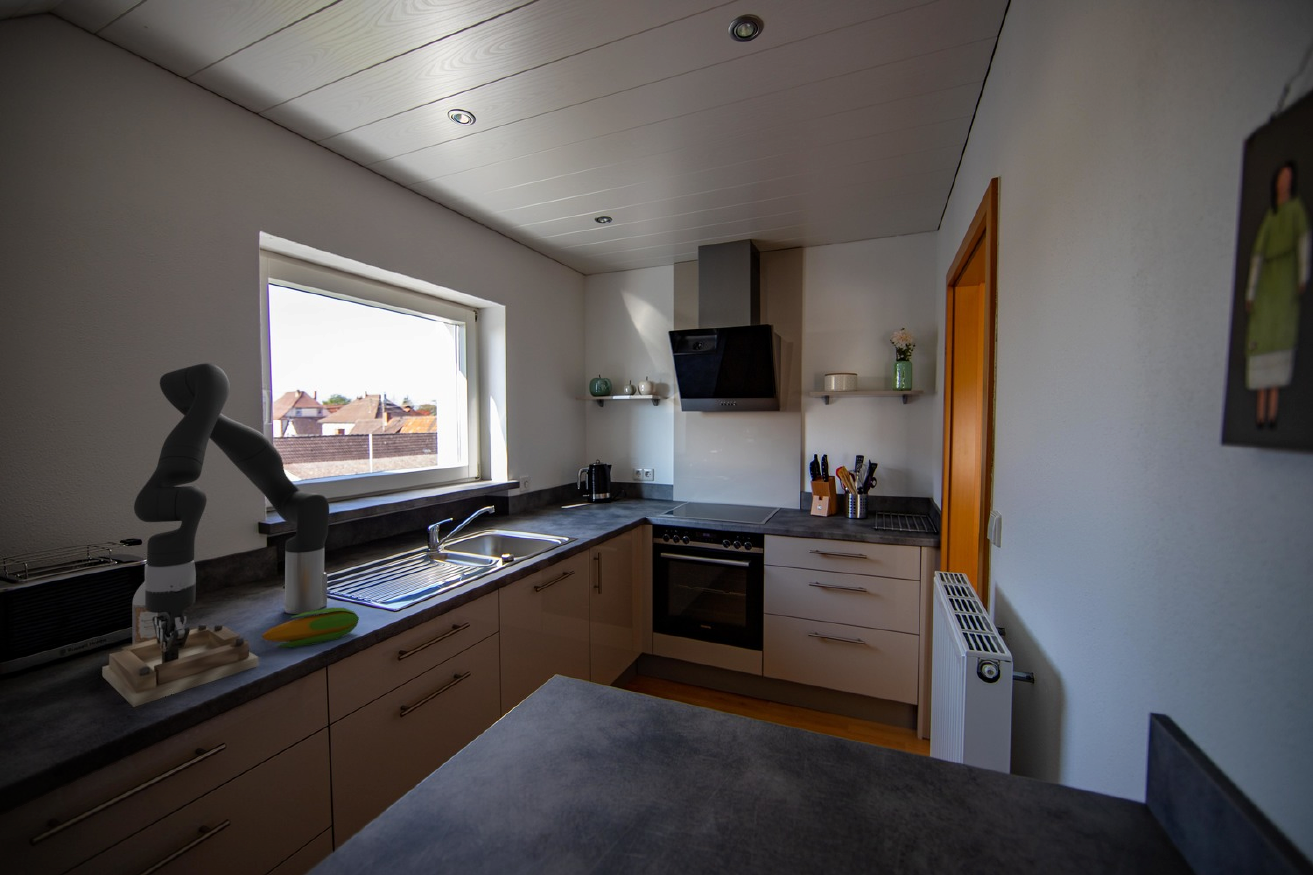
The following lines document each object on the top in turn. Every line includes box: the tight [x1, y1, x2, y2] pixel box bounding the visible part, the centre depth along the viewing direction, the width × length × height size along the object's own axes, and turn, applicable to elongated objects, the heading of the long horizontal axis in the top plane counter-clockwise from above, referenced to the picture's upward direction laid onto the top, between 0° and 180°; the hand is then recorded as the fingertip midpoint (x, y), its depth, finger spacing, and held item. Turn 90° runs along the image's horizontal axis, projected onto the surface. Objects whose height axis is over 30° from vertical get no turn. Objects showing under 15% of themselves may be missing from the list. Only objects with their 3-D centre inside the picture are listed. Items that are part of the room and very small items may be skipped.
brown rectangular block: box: [154, 636, 250, 685], centre depth 109 cm, size 15×3×4 cm, turn 147°
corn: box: [261, 607, 360, 648], centre depth 128 cm, size 7×8×20 cm
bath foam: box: [131, 563, 158, 645], centre depth 121 cm, size 7×7×20 cm
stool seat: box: [101, 623, 259, 708], centre depth 112 cm, size 20×20×6 cm
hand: (170, 666), depth 107 cm, fingers closed
